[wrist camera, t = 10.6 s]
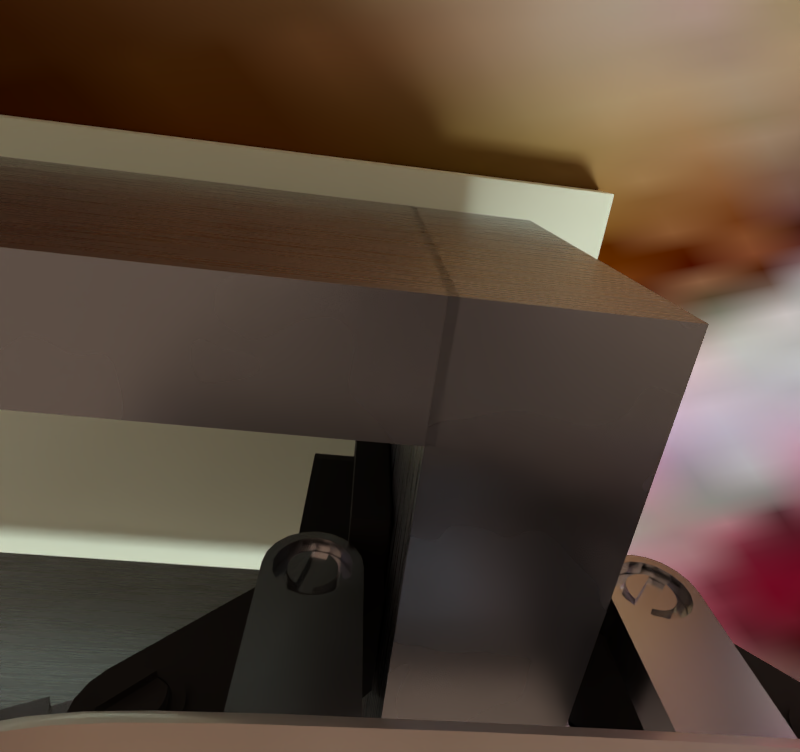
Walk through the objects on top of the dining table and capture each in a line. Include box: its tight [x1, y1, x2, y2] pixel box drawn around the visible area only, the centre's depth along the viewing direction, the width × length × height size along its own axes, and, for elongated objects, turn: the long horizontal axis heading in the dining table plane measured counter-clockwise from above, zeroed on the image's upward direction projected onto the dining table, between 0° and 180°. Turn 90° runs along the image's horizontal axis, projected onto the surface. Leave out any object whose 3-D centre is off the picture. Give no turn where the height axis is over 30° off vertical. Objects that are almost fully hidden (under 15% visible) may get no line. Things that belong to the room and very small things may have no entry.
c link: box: [0, 156, 708, 727], centre depth 9 cm, size 14×10×6 cm
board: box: [0, 115, 614, 570], centre depth 13 cm, size 16×11×1 cm
